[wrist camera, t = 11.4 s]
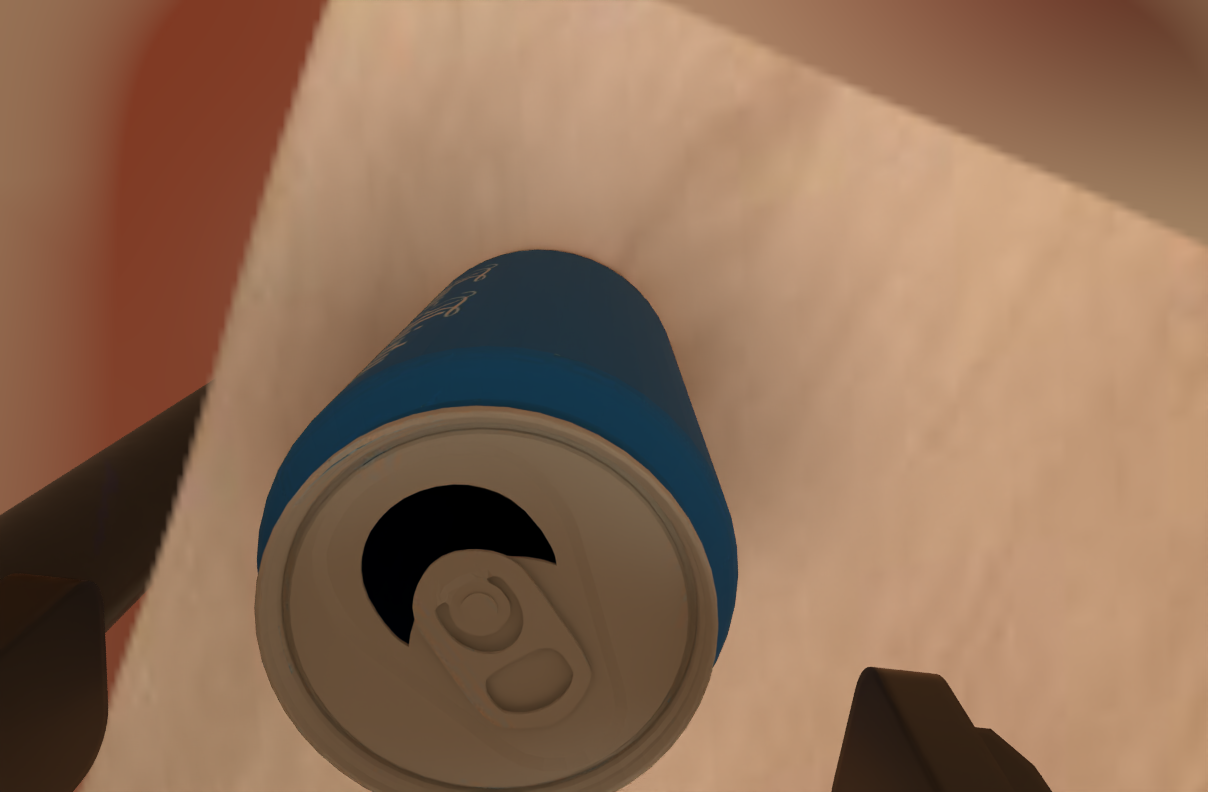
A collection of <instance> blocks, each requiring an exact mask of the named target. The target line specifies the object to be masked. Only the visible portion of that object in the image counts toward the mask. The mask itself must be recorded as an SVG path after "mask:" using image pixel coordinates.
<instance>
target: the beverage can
mask: <svg viewBox="0 0 1208 792" xmlns="http://www.w3.org/2000/svg"><path fill="white" fill-rule="evenodd" d="M257 569H258V577H257V582H256V595H255V607H254V608H255V623H256V635H257V640H258V645H259V649H260V654H261V658H262V662H263V665H264V668H265V670H266V673H267V676H268V679H269V681H270V684H271V687H272V689H273V690H274V692H275V694H276V696H277V698H278V700H279V702H280V703H281V705H282V707H283V709H284V711H285V712H286V714H287V715H288V717H289V718H290V719H291V721H292V722H293V724H294V725H295V726H296V728H297V729H298V731H299V732H300V733H301V734H302V735H303V737H304V738H305V739H306V740H307V741H308V742H309V743H310V744H311V745H312V746H313V747H314V748H315V750H316V751H317V752H318V753H319V754H320V755H322V756H323V757H324V758H325V759H326V760H327V761H329V762H330V763H331V764H332V765H333V766H334V767H336V768H337V769H338V770H339V771H340V772H342V773H343V774H345V775H346V776H348V777H349V778H351V779H352V780H354V781H355V782H357V783H358V784H360V785H361V786H363V787H364V788H366V789H368V790H370V791H372V792H616V791H617V790H619V789H621V788H623V787H624V786H626V785H628V784H629V783H631V782H632V781H633V780H635V779H636V778H637V777H639V776H640V775H641V774H643V773H644V772H645V771H647V770H648V769H649V768H651V767H652V766H653V765H654V764H655V763H656V762H657V761H658V760H659V759H660V758H661V757H662V756H663V755H664V754H665V753H666V752H667V751H668V750H669V749H670V748H671V747H672V745H673V744H674V743H675V742H676V740H677V739H678V738H679V737H680V735H681V734H682V733H683V731H684V730H685V729H686V727H687V726H688V724H689V722H690V721H691V719H692V717H693V715H694V714H695V712H696V710H697V709H698V707H699V705H700V703H701V700H702V698H703V695H704V693H705V690H706V688H707V685H708V683H709V680H710V676H711V672H712V668H713V666H714V665H715V663H716V661H717V659H718V657H719V654H720V652H721V649H722V647H723V645H724V642H725V640H726V637H727V635H728V631H729V627H730V623H731V619H732V615H733V611H734V607H735V600H736V591H737V581H738V561H737V545H736V539H735V534H734V529H733V523H732V518H731V515H730V512H729V509H728V506H727V504H726V501H725V498H724V495H723V492H722V489H721V486H720V483H719V480H718V478H717V475H716V472H715V469H714V466H713V463H712V461H711V458H710V455H709V452H708V449H707V447H706V444H705V441H704V438H703V435H702V432H701V430H700V427H699V424H698V421H697V418H696V415H695V413H694V410H693V407H692V404H691V401H690V398H689V396H688V393H687V390H686V387H685V384H684V381H683V379H682V376H681V373H680V370H679V367H678V364H677V362H676V359H675V356H674V353H673V350H672V347H671V345H670V342H669V339H668V336H667V333H666V331H665V329H664V327H663V325H662V323H661V321H660V319H659V317H658V315H657V314H656V312H655V311H654V310H653V308H652V307H651V305H650V304H649V302H648V301H647V300H646V299H645V298H644V297H643V296H642V294H641V293H640V292H639V291H638V290H637V289H636V288H635V287H634V286H633V285H631V284H630V283H629V282H628V281H627V280H626V279H624V278H623V277H622V276H620V275H619V274H617V273H616V272H614V271H613V270H611V269H609V268H608V267H606V266H604V265H602V264H600V263H597V262H595V261H593V260H591V259H588V258H585V257H582V256H579V255H576V254H572V253H566V252H561V251H554V250H528V251H518V252H513V253H509V254H504V255H500V256H498V257H495V258H492V259H489V260H487V261H484V262H482V263H480V264H478V265H476V266H475V267H473V268H471V269H469V270H467V271H466V272H465V273H463V274H462V275H460V276H459V277H458V278H456V279H455V280H454V281H453V282H451V283H450V284H449V285H448V286H447V287H446V288H445V289H444V290H443V291H442V292H441V293H440V294H439V295H438V296H437V297H436V298H435V299H434V300H433V301H432V302H431V303H430V304H429V305H428V306H427V307H426V308H425V309H424V310H423V311H422V312H421V313H420V314H419V315H418V316H417V317H416V318H415V319H414V320H413V321H412V322H411V323H410V324H409V325H408V326H407V327H406V328H405V329H404V330H403V331H402V332H401V333H400V334H399V335H398V336H397V337H396V338H395V339H394V340H393V341H392V342H391V343H390V344H389V345H388V346H387V347H386V348H385V349H384V350H383V351H382V352H381V353H380V354H379V355H378V356H377V357H376V358H375V359H374V360H373V361H372V362H371V363H370V364H369V365H368V366H367V367H366V368H365V369H364V370H363V371H362V372H361V373H360V374H359V375H358V376H357V377H356V378H355V379H354V380H353V381H352V382H351V383H350V384H349V385H348V386H347V387H345V388H344V389H343V390H342V391H341V392H340V393H339V394H338V395H337V396H336V397H335V398H334V399H333V400H332V401H331V402H330V403H329V404H328V405H327V406H326V407H325V408H324V409H323V410H322V411H321V412H320V413H319V414H318V415H317V416H316V417H315V418H314V419H313V420H312V421H311V423H310V424H309V425H308V426H307V428H306V429H305V430H304V432H303V433H302V434H301V435H300V437H299V438H298V439H297V440H296V442H295V443H294V444H293V445H292V447H291V449H290V451H289V452H288V454H287V456H286V457H285V459H284V461H283V463H282V464H281V466H280V468H279V469H278V472H277V474H276V477H275V479H274V482H273V484H272V487H271V489H270V492H269V494H268V497H267V500H266V504H265V508H264V512H263V517H262V521H261V525H260V529H259V539H258V551H257Z"/></svg>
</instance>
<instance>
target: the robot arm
mask: <svg viewBox="0 0 1208 792" xmlns="http://www.w3.org/2000/svg"><path fill="white" fill-rule="evenodd" d="M105 645H106V644H105V621H104V603H103V597H102V593H101V591H100V589H99V587H98V586H97V585H96V584H95V583H94V582H91V581H85V580H75V579H66V578H57V577H47V576H38V575H29V574H20V573H17V574H11V575H9V576H6V577H5V578H3V579H2V580H0V792H73V791H74V790H75V788H76V787H77V786H78V785H79V783H80V782H81V781H82V780H83V778H84V777H85V776H86V774H87V773H88V772H89V770H90V768H91V767H92V765H93V763H94V761H95V759H96V757H97V755H98V752H99V750H100V747H101V744H102V741H103V738H104V735H105V731H106V726H107V719H108V691H107V669H106V646H105ZM832 792H1052V791H1051V790H1050V788H1049V787H1048V785H1047V784H1046V782H1045V781H1044V779H1043V778H1042V776H1041V775H1040V773H1039V772H1038V771H1037V769H1036V768H1035V766H1034V765H1033V764H1032V763H1030V762H1029V761H1028V760H1027V759H1026V758H1025V757H1023V756H1022V755H1021V754H1020V753H1019V752H1017V751H1016V750H1015V749H1014V748H1013V747H1012V746H1010V745H1009V744H1008V743H1007V742H1006V741H1004V740H1003V739H1002V738H1001V737H1000V736H999V735H997V734H996V733H995V732H994V731H993V730H992V729H986V728H977V727H974V725H973V723H972V722H971V720H970V719H969V717H968V715H967V714H966V712H965V711H964V709H963V707H962V706H961V704H960V703H959V701H958V699H957V698H956V696H955V695H954V693H953V692H952V690H951V688H950V687H949V685H948V684H947V682H946V681H945V679H944V678H943V677H941V676H940V675H938V674H931V673H922V672H913V671H903V670H894V669H885V668H876V667H867V668H866V669H864V670H863V672H862V673H861V675H860V677H859V679H858V682H857V685H856V689H855V693H854V697H853V701H852V706H851V710H850V714H849V718H848V722H847V727H846V731H845V735H844V739H843V744H842V748H841V752H840V756H839V760H838V765H837V769H836V773H835V777H834V782H833V786H832Z"/></svg>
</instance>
